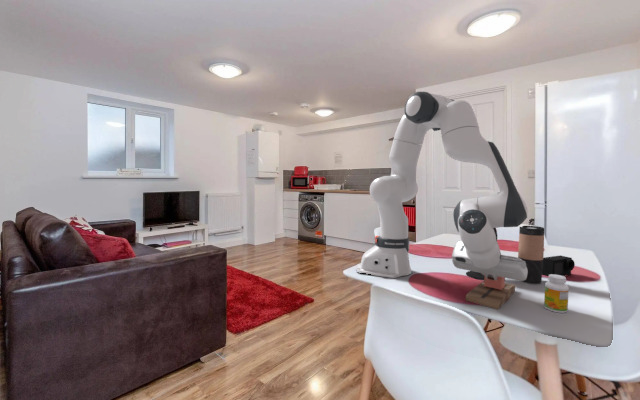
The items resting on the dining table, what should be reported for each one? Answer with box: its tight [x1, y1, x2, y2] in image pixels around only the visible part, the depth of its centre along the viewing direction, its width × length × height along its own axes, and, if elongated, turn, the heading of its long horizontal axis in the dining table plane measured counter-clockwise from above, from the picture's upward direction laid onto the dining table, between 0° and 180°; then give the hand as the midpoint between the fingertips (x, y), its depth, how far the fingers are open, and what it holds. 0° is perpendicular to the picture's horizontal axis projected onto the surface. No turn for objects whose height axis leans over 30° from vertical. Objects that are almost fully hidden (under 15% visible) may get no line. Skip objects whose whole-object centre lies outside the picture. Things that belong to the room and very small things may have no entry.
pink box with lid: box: [483, 276, 506, 290], centre depth 99 cm, size 5×6×10 cm
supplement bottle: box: [543, 274, 570, 314], centre depth 87 cm, size 5×5×10 cm
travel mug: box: [517, 225, 545, 285], centre depth 111 cm, size 8×8×20 cm
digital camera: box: [542, 255, 576, 277], centre depth 118 cm, size 10×5×7 cm, turn 109°
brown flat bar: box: [465, 280, 516, 310], centre depth 98 cm, size 20×9×2 cm, turn 136°
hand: (492, 277), depth 98 cm, fingers closed, pressing on pink box with lid
